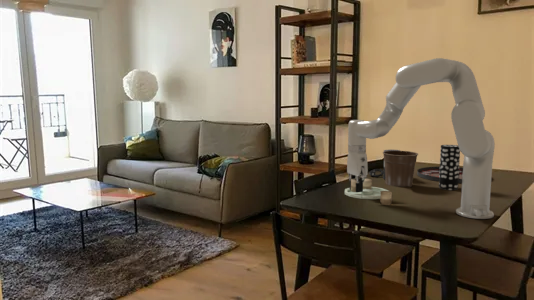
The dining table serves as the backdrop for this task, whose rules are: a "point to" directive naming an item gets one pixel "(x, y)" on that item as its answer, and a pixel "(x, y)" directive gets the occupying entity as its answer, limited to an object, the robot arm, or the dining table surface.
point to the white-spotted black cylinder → (449, 167)
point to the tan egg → (353, 185)
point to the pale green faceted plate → (366, 193)
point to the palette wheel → (435, 173)
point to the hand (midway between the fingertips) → (356, 190)
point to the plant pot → (399, 167)
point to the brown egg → (386, 197)
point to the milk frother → (380, 169)
